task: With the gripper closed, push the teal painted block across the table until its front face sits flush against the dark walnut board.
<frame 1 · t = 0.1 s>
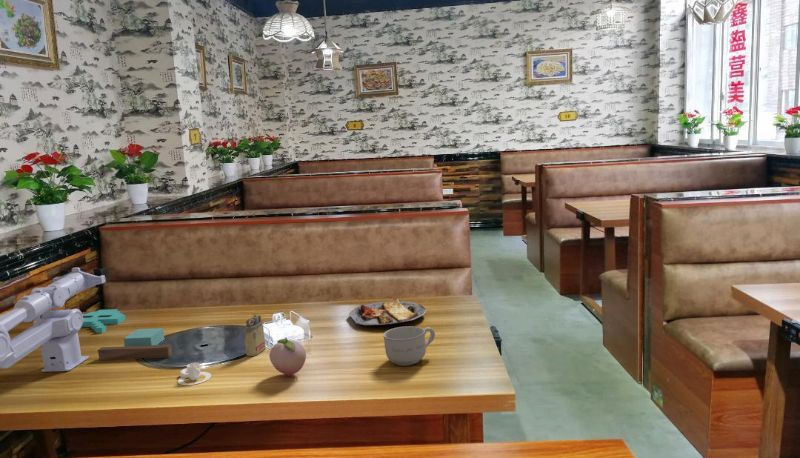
hand: (95, 271, 179), 22 cm above the table, tool horizontal, fingers open, 7 cm apart
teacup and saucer: (201, 376, 152), on the table
teal pixel cutout: (92, 325, 200), on the table
walnut board: (135, 357, 166), on the table
decorative fruit: (290, 376, 147), on the table
teal block: (145, 346, 176), on the table
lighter: (255, 352, 165), on the table
teacup: (411, 361, 152), on the table
food plate: (387, 318, 188), on the table
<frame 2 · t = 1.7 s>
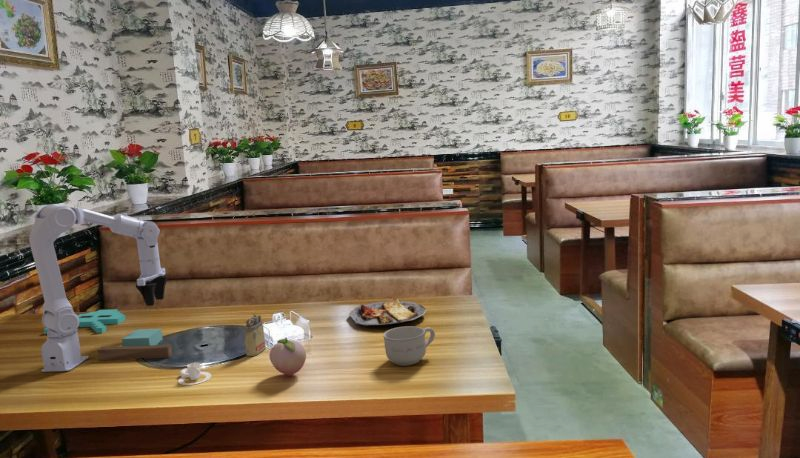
hand: (155, 302, 183), 10 cm above the table, tool pointing down, fingers open, 6 cm apart
nothing on the table moved.
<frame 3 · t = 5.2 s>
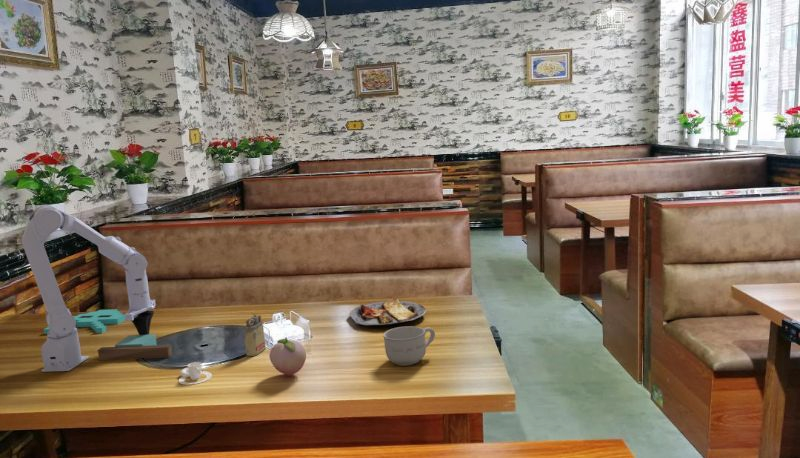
hand: (144, 336, 175), 3 cm above the table, tool pointing down, fingers closed
teal block: (137, 352, 171), on the table, touching gripper
everything else where it was.
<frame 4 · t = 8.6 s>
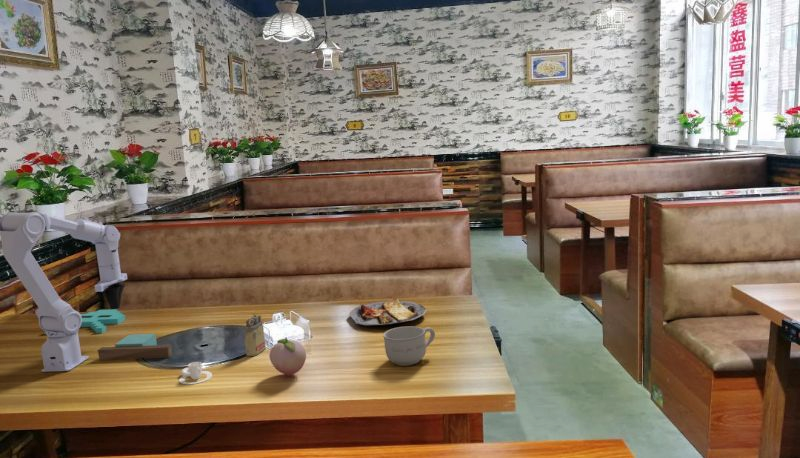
hand: (115, 308, 179), 10 cm above the table, tool pointing down, fingers closed
teal block: (137, 352, 171), on the table
everything else where it was.
at the end: teal block inside the target area on the table beside the walnut board (1.1 cm from its centre), on the table; teal block tilted 0° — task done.
